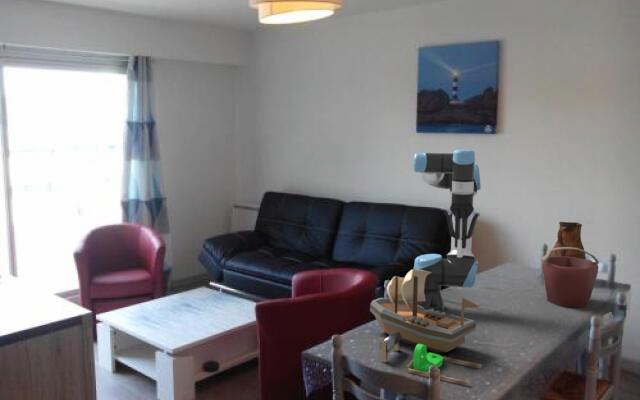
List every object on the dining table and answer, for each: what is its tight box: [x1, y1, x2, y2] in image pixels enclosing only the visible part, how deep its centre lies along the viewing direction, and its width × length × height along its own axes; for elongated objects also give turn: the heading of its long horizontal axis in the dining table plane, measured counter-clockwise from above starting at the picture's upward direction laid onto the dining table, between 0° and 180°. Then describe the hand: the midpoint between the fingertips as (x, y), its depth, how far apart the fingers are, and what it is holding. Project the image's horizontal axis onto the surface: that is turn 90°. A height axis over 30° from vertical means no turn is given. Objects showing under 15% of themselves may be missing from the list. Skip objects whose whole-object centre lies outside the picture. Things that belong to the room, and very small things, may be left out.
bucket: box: [540, 247, 600, 309], centre depth 259 cm, size 24×22×25 cm
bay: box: [405, 352, 482, 387], centre depth 189 cm, size 21×15×2 cm
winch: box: [379, 330, 402, 363], centre depth 200 cm, size 4×13×7 cm, turn 151°
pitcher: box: [550, 221, 587, 259], centre depth 291 cm, size 17×21×30 cm
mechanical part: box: [412, 344, 444, 372], centre depth 191 cm, size 12×6×8 cm, turn 144°
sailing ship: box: [369, 268, 481, 354], centre depth 210 cm, size 16×45×27 cm, turn 47°
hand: (459, 256), depth 211 cm, fingers closed
